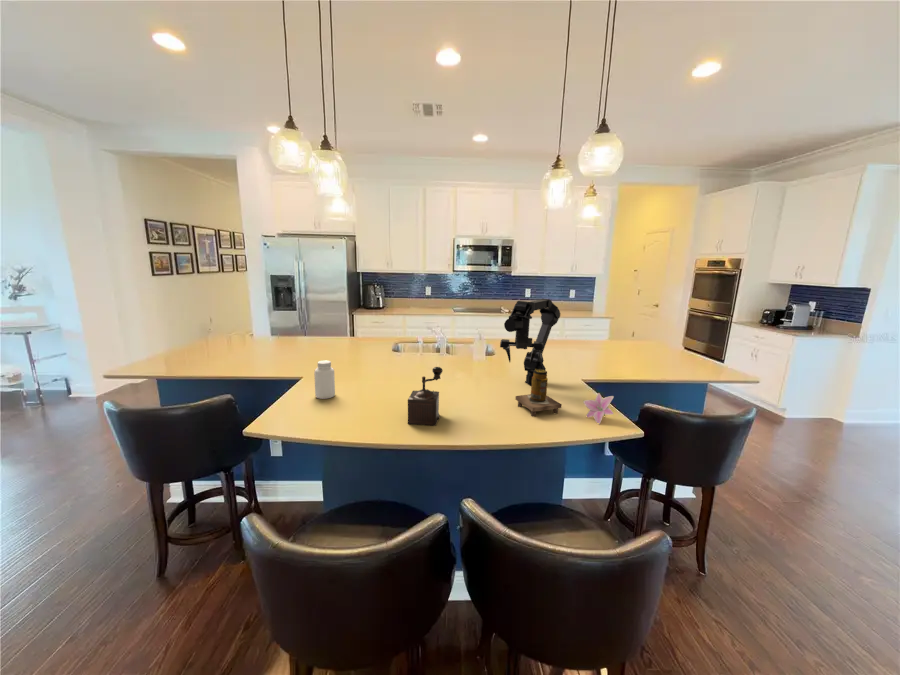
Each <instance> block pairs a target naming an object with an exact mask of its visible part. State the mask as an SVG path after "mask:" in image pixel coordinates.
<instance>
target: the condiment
mask: <svg viewBox="0 0 900 675" xmlns="http://www.w3.org/2000/svg"><path fill="white" fill-rule="evenodd" d="M530 388H531V389H530V394H531V395H529V394H526V395H527V396H528V398H529V400H530V402H531V403H537V404H549V402H548V400H547V399H546V395H547V389H548V371H547V370H542V369H536V370H534V374H533V377H532V386H530Z"/></svg>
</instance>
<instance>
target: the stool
mask: <svg viewBox="0 0 900 675" xmlns="http://www.w3.org/2000/svg"><path fill="white" fill-rule="evenodd" d="M527 395H531V393H530V394H522V395H515V398H514V400H516V401H517V407H519V408H523V406H524V407H526V408H527V409H528V410H529V411H530V417H532V418H534V417H535V418H536V416H537V412H541V411H548V410H552V413H553V414H554V413H557V414H558V412H559V409H562V407H563V406H562V403H560V402H559V401H556V400H555V399H554V398H552V397H551V396H549V395H547V394H546V399H547V400H548V402H549V404H537V403H531V402H530V400H529V398H528V396H527Z"/></svg>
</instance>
